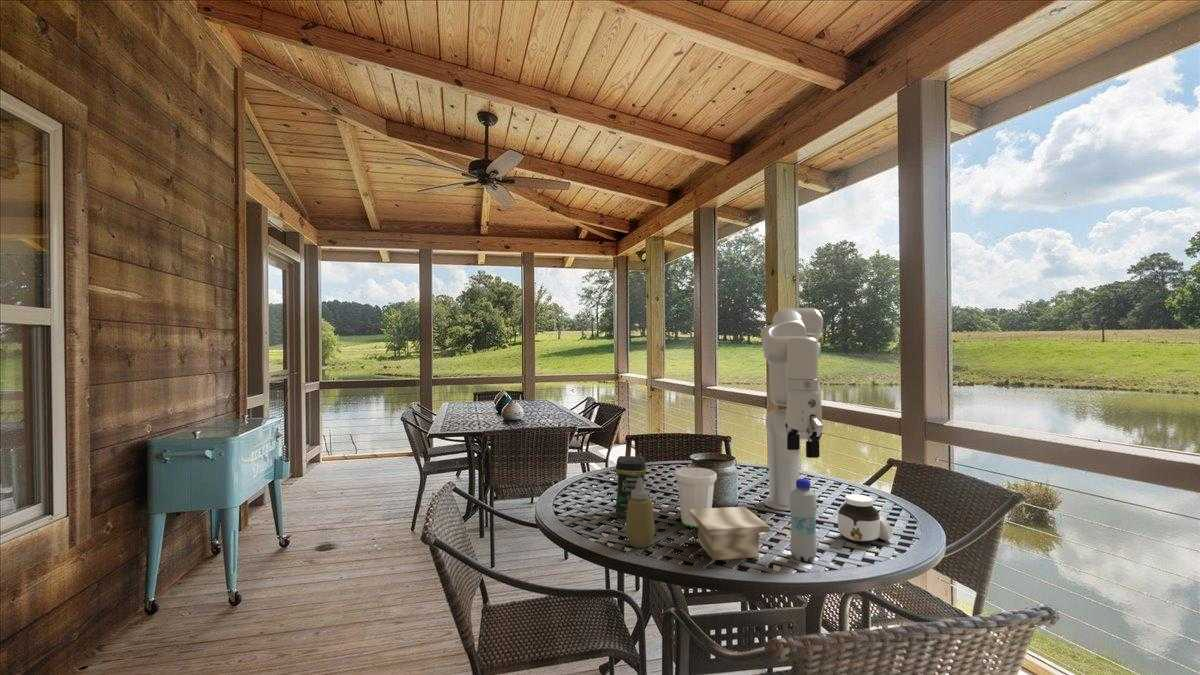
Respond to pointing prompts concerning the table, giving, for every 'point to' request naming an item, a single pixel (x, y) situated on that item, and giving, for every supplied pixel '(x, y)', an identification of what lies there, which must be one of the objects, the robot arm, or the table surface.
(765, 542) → the table surface
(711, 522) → the stand
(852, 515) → the spread jar
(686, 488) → the cup
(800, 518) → the bottle
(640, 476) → the coffee jar
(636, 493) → the squeeze bottle
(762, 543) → the table surface
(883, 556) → the table surface
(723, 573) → the table surface
